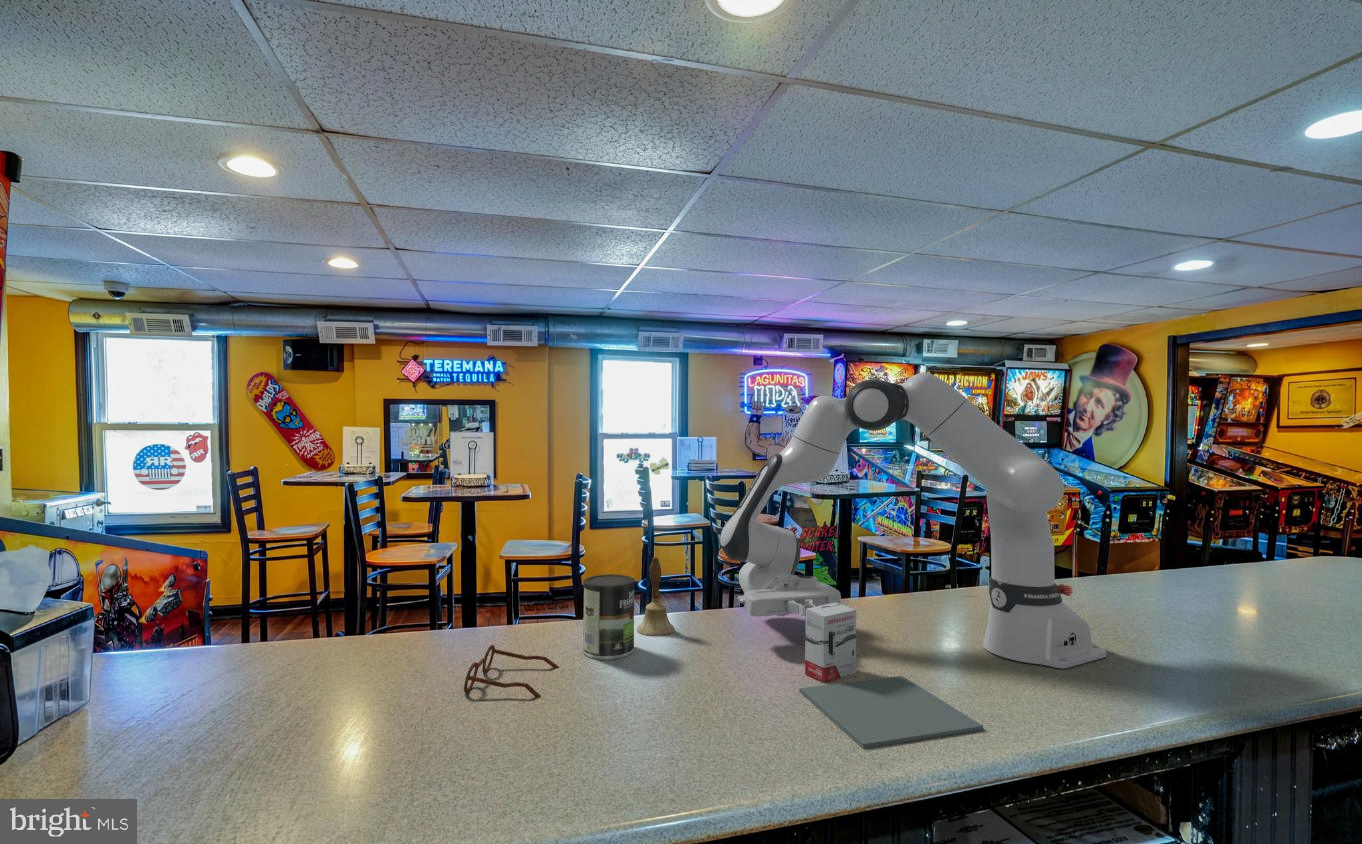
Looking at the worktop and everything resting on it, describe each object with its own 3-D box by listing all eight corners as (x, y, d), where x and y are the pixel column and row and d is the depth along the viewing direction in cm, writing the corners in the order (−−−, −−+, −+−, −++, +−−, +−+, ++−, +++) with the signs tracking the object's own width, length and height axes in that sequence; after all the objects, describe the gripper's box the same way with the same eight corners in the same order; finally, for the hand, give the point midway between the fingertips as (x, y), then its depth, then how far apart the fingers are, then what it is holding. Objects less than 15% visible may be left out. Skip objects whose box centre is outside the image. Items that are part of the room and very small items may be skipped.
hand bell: (666, 638, 127) (666, 562, 128) (630, 633, 130) (631, 559, 130) (679, 626, 135) (680, 555, 135) (646, 622, 138) (646, 552, 138)
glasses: (489, 668, 111) (489, 641, 112) (559, 669, 111) (559, 642, 111) (461, 699, 98) (462, 668, 98) (540, 700, 98) (541, 669, 98)
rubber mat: (902, 679, 106) (902, 675, 106) (983, 730, 88) (983, 725, 88) (799, 691, 101) (799, 688, 101) (863, 748, 82) (862, 744, 82)
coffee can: (642, 645, 123) (642, 576, 123) (621, 663, 113) (622, 588, 113) (597, 639, 126) (597, 572, 127) (573, 656, 116) (573, 583, 117)
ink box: (824, 683, 104) (824, 615, 104) (803, 674, 108) (803, 608, 108) (857, 673, 109) (857, 607, 109) (836, 664, 113) (836, 601, 113)
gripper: (734, 581, 127) (759, 598, 114) (820, 575, 133) (855, 591, 119) (734, 611, 127) (760, 632, 114) (821, 604, 133) (855, 623, 119)
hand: (809, 611), depth 117 cm, fingers closed
